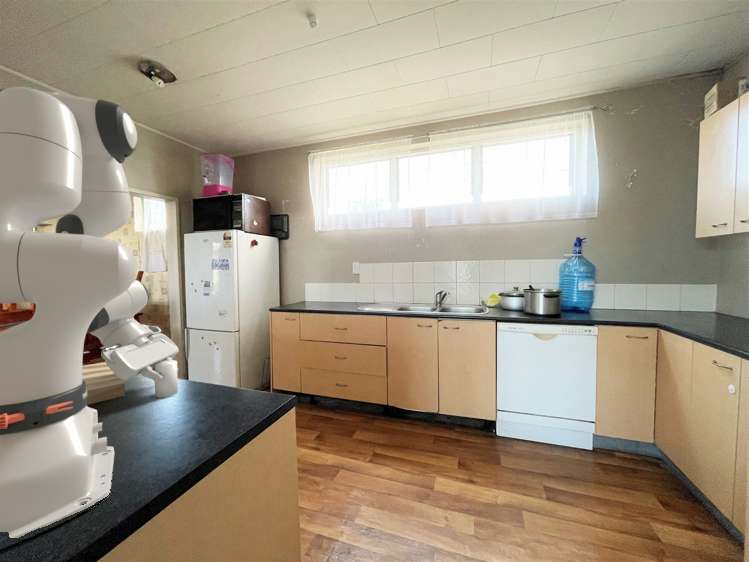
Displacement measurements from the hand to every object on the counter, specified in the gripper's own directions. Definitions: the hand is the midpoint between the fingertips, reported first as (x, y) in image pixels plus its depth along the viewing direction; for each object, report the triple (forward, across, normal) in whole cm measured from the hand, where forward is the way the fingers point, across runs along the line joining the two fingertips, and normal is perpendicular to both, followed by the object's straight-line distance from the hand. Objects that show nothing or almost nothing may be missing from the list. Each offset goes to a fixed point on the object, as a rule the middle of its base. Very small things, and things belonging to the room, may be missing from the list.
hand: (168, 376), depth 81 cm
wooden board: (-13, +3, +20) cm, 24 cm away
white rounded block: (+3, 0, +4) cm, 5 cm away
